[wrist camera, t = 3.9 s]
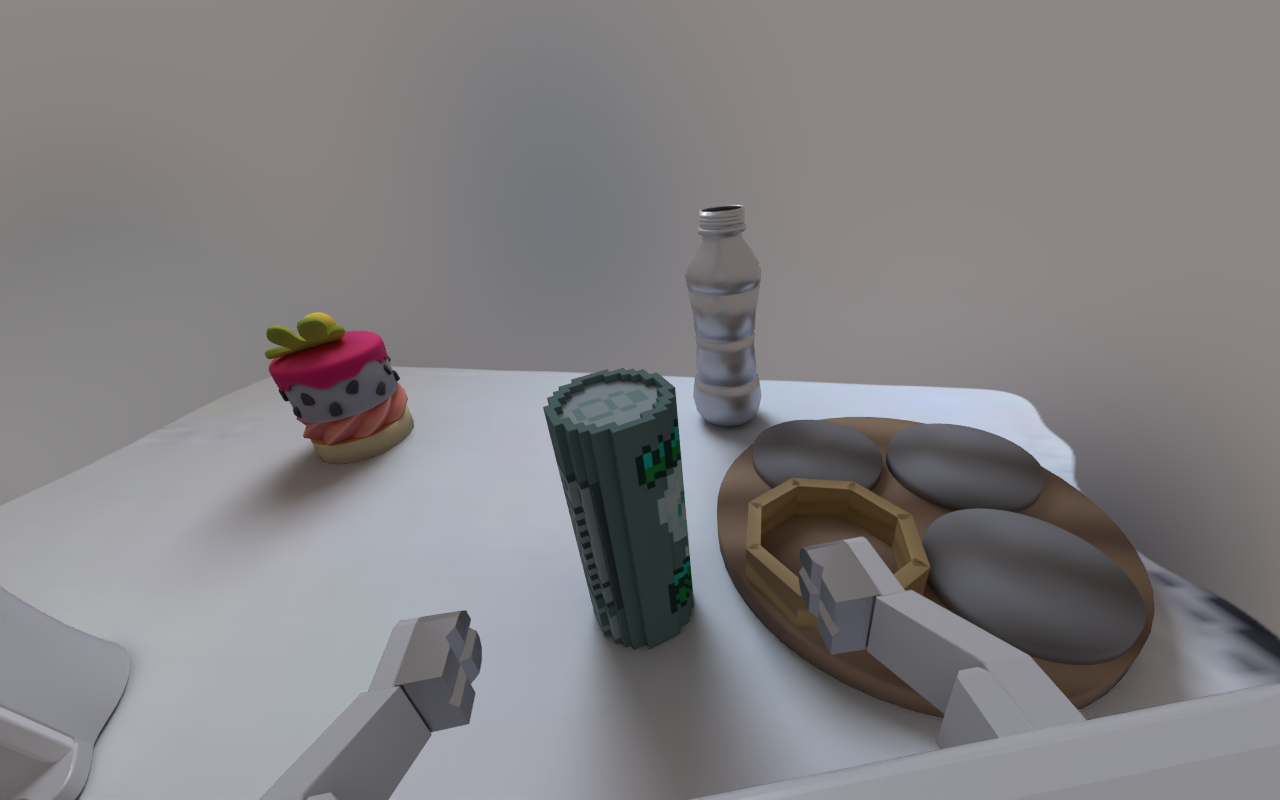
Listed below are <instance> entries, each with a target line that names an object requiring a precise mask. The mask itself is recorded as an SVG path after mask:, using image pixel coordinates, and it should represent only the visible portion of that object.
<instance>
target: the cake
mask: <svg viewBox="0 0 1280 800" xmlns="http://www.w3.org/2000/svg"><path fill="white" fill-rule="evenodd" d="M297 329H298V332H299V334H300V336H299V335H296V334H295V333H294V332H293V331H291V330H290V329H288V328H286V327H283V326H279V325H273V326H270V327H269V328H268V329H267V338H268V340H269V341H271V342H272V343H275V344H277V345H280V346H281V347H277V348H273V349H270V350H268V351H266V352H265V355H266V357H267V358H268V359H273V358H275V359H274V360H272V362H271V364H270V366H269V371H270V374H271V376H272V377H273V379H274V381H275V383H276V384H277V386H278V387H279V392H280V394H281V396H282V397H283V399H284V400H285V401H290V403H291V405H292V407H293V412H294V414H295V415H296V416H297V420H299V421H300V422H302V423H303V424H305V425H306V429H305V432H304V434H303V437H304V438H309V439H311V441H312V443H313V445H314V447H315V448H316V450H317V452H318V454H319V456H320V457H321V459H322V461H325V462H328V463H330V464H345V463H351V462H357V461H361V460H364V459H367V458H370V457H374V456H376V455H378V454H380V453H383V452H385V451H387V450H389V449H391V448H392V447H394V446H395V445H397V444H399V443H400V442H402V441H403V440H404V439H405V438H406V437H407V436H408V435H409V434H410V433H411V431H412V429H413V427H414V422H413V419H412V416H411V414H410V412H409V409H408V407H407V400H408V398H407V395H406V393H405V390H404V389H403V388H402V386H401V385H400V384H399V383H397V381H398V380H399V379H400V377H399V376H398V374H397V373H396V371H394V370H392V368H391V366H390V363H389V362H390V358H389V357H388V355H387V353H386V349H385V345H384V343H383V341H382V339H381V337H380V336H379V335H377V334H375V333H373V332H368V331H347V332H345V330H344V328H343V327H342V326H340V325H336V322H335V321H334V320H333V318H332V317H330V316H328V315H327V314H324V313H320V312H317V313H311V314H309V315H307V316H305V317H304V318H303V319H302V320H300V321H299V322H298V324H297Z"/></svg>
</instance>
